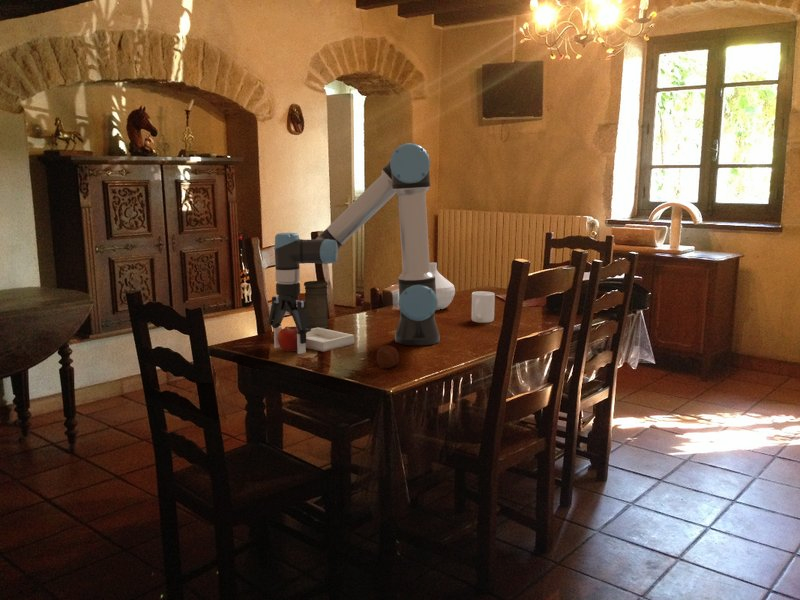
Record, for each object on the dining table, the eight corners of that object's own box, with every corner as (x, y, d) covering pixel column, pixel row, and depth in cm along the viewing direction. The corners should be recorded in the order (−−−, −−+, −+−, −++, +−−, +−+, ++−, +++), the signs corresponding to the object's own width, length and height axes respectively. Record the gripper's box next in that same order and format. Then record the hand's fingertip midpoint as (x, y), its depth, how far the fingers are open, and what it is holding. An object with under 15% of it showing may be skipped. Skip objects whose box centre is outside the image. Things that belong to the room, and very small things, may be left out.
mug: (464, 323, 265) (464, 295, 264) (476, 317, 276) (477, 290, 274) (485, 325, 261) (486, 297, 259) (497, 319, 272) (497, 292, 270)
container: (325, 335, 247) (324, 284, 244) (301, 334, 249) (299, 283, 245) (332, 329, 255) (331, 280, 252) (309, 328, 257) (308, 279, 254)
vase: (413, 303, 306) (413, 259, 302) (456, 304, 303) (456, 260, 300) (408, 311, 288) (408, 265, 284) (453, 312, 285) (453, 266, 282)
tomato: (280, 347, 230) (280, 323, 228) (308, 347, 230) (308, 323, 228) (274, 354, 221) (274, 329, 219) (304, 354, 220) (303, 329, 219)
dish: (354, 343, 234) (354, 335, 233) (323, 351, 224) (322, 342, 223) (318, 335, 246) (317, 327, 245) (286, 342, 235) (286, 334, 235)
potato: (369, 369, 204) (369, 347, 203) (383, 361, 212) (383, 340, 211) (391, 371, 201) (391, 349, 200) (404, 363, 210) (404, 342, 208)
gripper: (321, 284, 216) (323, 354, 220) (274, 277, 232) (276, 342, 235) (303, 287, 211) (304, 358, 215) (255, 279, 226) (258, 346, 230)
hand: (289, 350), depth 225 cm, fingers open, 11 cm apart
